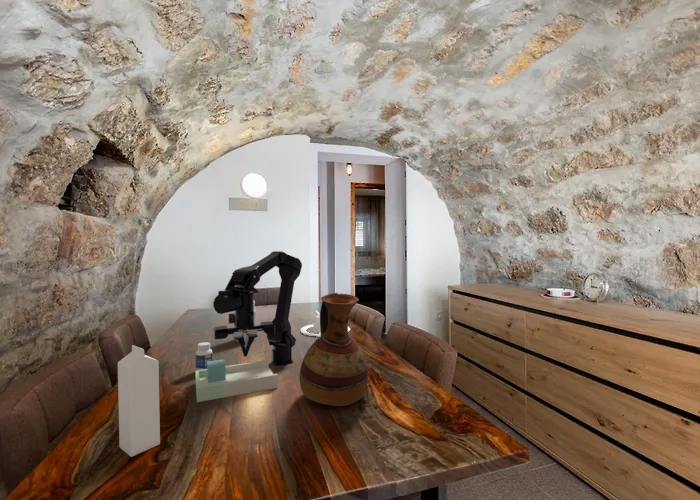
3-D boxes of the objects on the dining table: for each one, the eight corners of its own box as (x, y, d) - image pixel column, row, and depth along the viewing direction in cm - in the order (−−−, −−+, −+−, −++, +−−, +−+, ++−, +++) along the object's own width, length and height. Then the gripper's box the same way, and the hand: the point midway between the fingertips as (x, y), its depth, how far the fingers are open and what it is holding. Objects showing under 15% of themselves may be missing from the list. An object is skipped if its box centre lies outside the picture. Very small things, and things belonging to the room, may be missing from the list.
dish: (294, 337, 167) (293, 313, 167) (308, 324, 191) (308, 304, 191) (345, 339, 163) (344, 314, 162) (353, 326, 187) (353, 305, 187)
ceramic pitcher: (315, 420, 88) (314, 301, 87) (290, 390, 106) (289, 291, 105) (381, 403, 97) (381, 295, 96) (348, 378, 115) (347, 287, 114)
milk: (147, 435, 82) (146, 341, 81) (160, 444, 78) (159, 345, 78) (118, 448, 77) (117, 347, 77) (130, 458, 73) (128, 352, 73)
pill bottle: (206, 375, 119) (206, 346, 119) (192, 373, 120) (192, 345, 120) (215, 369, 124) (215, 341, 124) (202, 368, 125) (201, 341, 125)
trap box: (267, 371, 122) (267, 359, 122) (278, 387, 108) (278, 374, 108) (195, 382, 112) (195, 370, 112) (196, 402, 99) (196, 388, 98)
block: (223, 374, 114) (223, 359, 114) (225, 380, 109) (225, 364, 109) (207, 377, 112) (207, 361, 112) (208, 382, 107) (208, 366, 107)
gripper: (268, 302, 125) (268, 345, 125) (212, 306, 117) (212, 353, 117) (275, 307, 115) (276, 354, 115) (214, 312, 107) (215, 363, 107)
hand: (245, 356), depth 114 cm, fingers closed
